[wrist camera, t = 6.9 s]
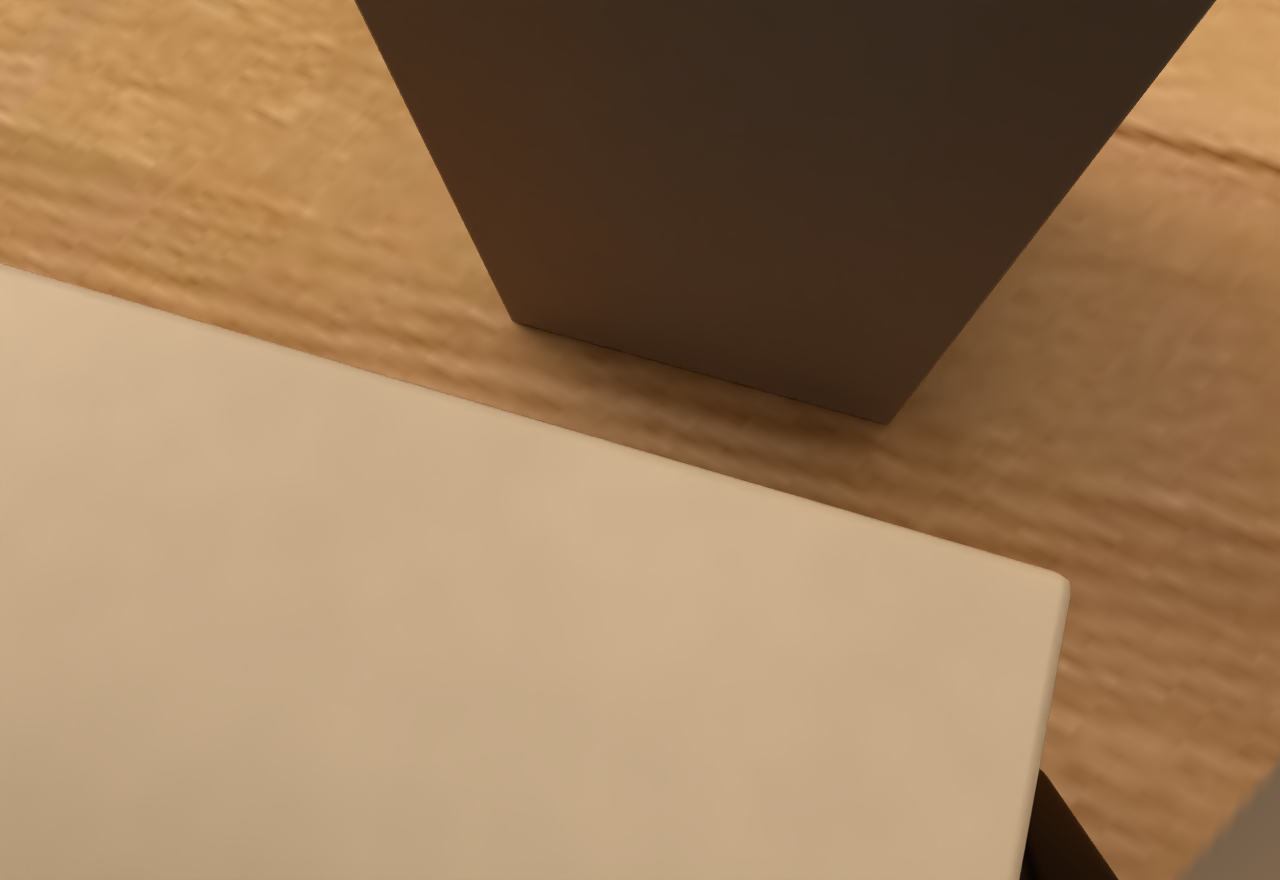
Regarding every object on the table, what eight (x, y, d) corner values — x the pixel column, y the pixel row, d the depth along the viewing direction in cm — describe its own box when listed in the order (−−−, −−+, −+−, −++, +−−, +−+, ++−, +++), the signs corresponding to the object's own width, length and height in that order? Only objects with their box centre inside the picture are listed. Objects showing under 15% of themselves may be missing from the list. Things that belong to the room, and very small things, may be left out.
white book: (742, 824, 15) (942, 1357, 3) (403, 705, 15) (-430, 773, 4) (787, 655, 15) (1081, 575, 4) (461, 551, 16) (-98, 230, 5)
